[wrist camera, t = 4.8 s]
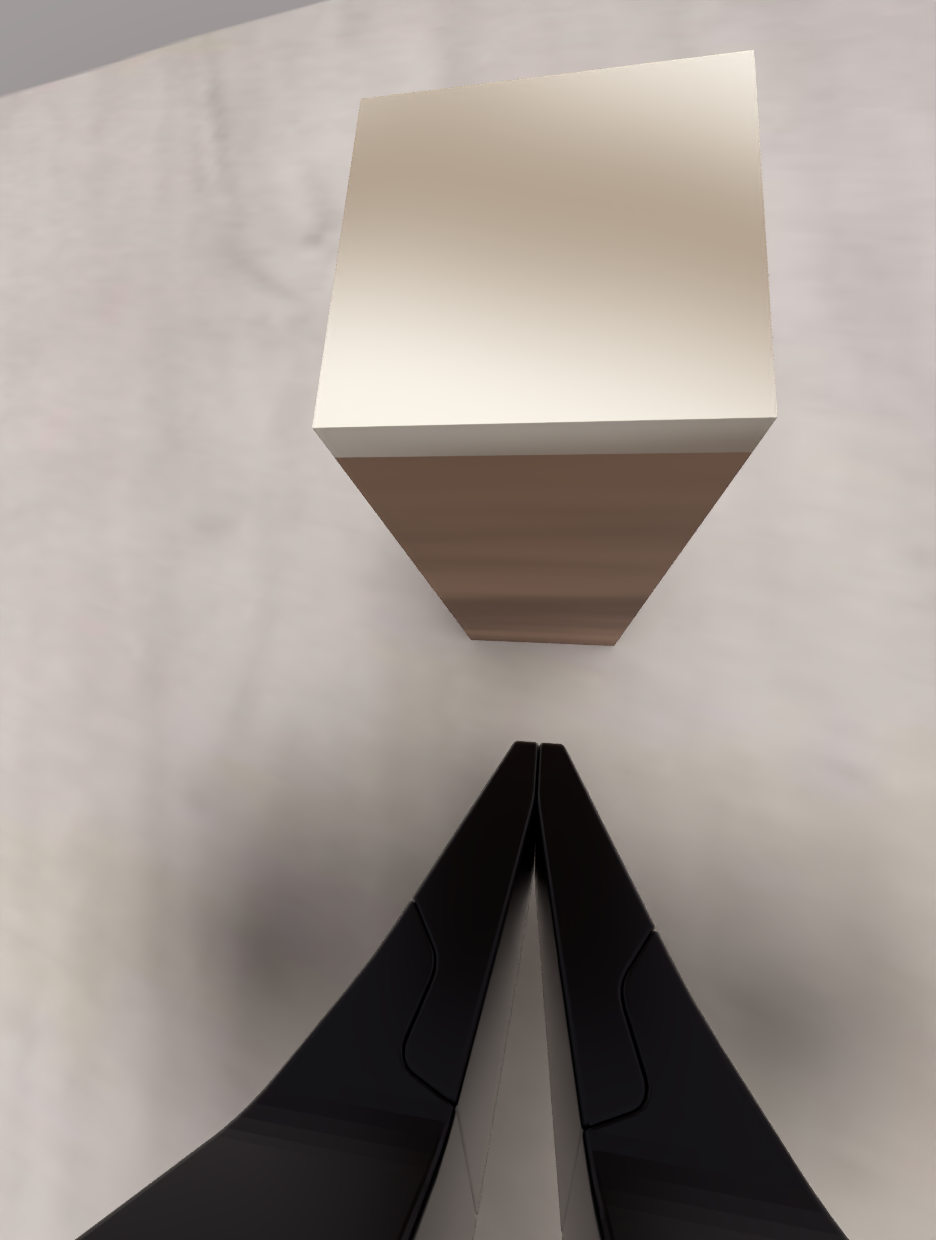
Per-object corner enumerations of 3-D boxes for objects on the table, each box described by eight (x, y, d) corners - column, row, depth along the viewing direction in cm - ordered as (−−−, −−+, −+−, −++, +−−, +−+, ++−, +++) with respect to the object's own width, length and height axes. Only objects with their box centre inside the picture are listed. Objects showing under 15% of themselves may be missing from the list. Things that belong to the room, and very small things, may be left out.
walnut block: (613, 645, 16) (777, 418, 5) (471, 639, 17) (312, 427, 5) (615, 511, 17) (754, 48, 6) (480, 511, 18) (361, 99, 6)
